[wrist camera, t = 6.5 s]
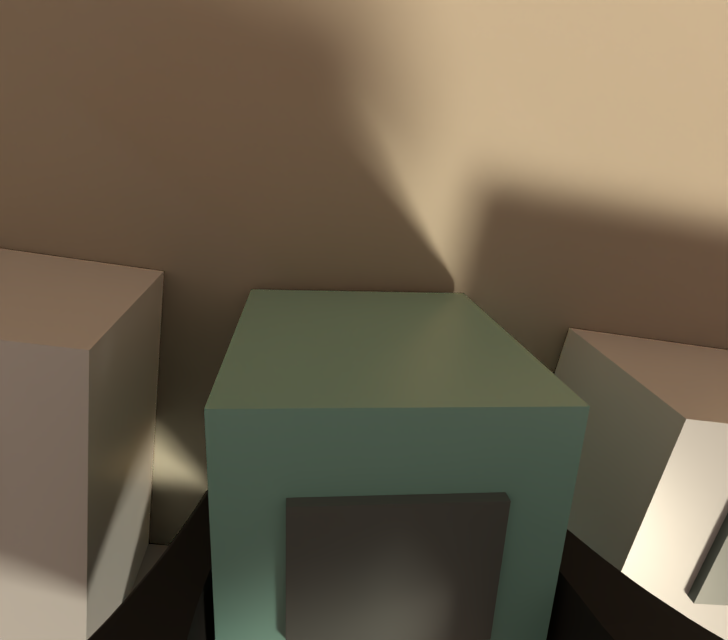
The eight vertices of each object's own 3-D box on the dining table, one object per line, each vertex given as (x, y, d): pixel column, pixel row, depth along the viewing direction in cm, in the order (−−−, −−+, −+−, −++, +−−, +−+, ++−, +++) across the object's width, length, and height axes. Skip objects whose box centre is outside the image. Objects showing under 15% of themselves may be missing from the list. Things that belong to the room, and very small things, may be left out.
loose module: (463, 293, 13) (597, 413, 7) (438, 536, 15) (525, 788, 9) (251, 289, 12) (200, 416, 6) (256, 543, 14) (221, 816, 8)
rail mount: (832, 364, 15) (1051, 465, 11) (694, 634, 18) (818, 796, 14) (-245, 214, 11) (-617, 277, 6) (-170, 596, 14) (-383, 809, 10)
